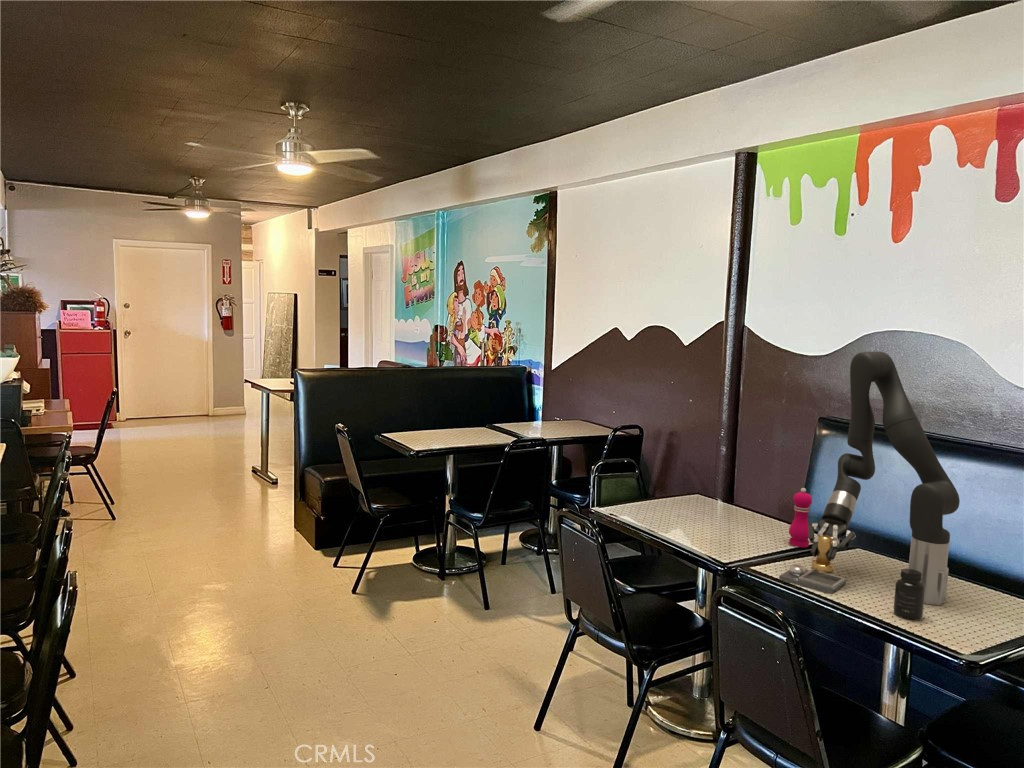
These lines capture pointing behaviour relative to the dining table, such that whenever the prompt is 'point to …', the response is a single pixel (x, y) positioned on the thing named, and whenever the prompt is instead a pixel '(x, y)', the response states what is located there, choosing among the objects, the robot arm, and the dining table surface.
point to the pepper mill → (800, 519)
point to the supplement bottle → (909, 595)
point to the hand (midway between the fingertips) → (821, 557)
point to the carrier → (813, 579)
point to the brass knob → (823, 555)
